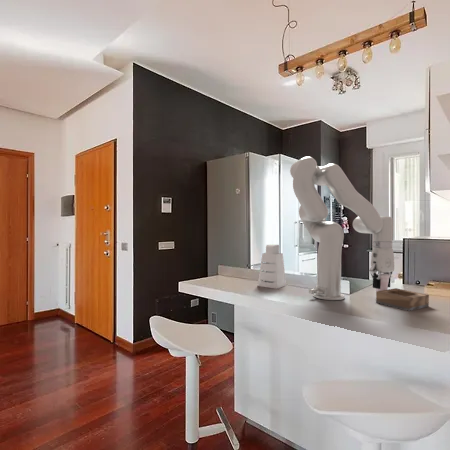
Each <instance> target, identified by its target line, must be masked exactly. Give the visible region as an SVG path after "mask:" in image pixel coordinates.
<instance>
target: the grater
mask: <svg viewBox="0 0 450 450" xmlns="http://www.w3.org/2000/svg"><path fill="white" fill-rule="evenodd" d="M284 262H285V261H284V255H283V253H281V252H280V245H279V244H266V245H265V252H264V253H262V254H261V259H260V266H259V272H258V273H259V275H258V280H257V286H258V287H263V288H270V289H280V288H283V287H286V286H287V281H286V272H285V263H284Z"/></svg>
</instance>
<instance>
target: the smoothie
mask: <svg viewBox="0 0 450 450" xmlns="http://www.w3.org/2000/svg"><path fill="white" fill-rule="evenodd" d="M376 274H377V275H378V273H376ZM389 277H390V275H389V274H385V273H381V275H380V278H379V279H381V281H380V289H377V288H375V292H376V291H382V290H388V288H389V287H388V282H389Z"/></svg>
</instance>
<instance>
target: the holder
mask: <svg viewBox="0 0 450 450" xmlns="http://www.w3.org/2000/svg"><path fill="white" fill-rule="evenodd" d="M375 296H376V297H375V298H376V299H375V303H376V304H379V303H380V305H383V304H384V306H387V305H388V306H387V307H391V306H392V308H395V307H396V308H395V309H399V308H400V310H403V309H404V311H407V310H408V311H407V312H410V310H411V311H414V310H415V309H416V310H419V309H425V308H428V307H430V306H429V305H430V303H429V302H430V295H429V294H427V293H422V292H417V291H411V290H406V289H400V288H390V289H388V288H387V290H382V291H376V290H375ZM416 310H415V311H416Z"/></svg>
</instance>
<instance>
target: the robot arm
mask: <svg viewBox="0 0 450 450" xmlns="http://www.w3.org/2000/svg"><path fill="white" fill-rule="evenodd" d="M289 173H290V175H291V178H292V187H293V188H292V190H293V193H294V195H295V197H296V198H297V200H298V202H299V204H300V206H299V208H298V216H299V218H300V220H301V222H302V224H303V225H304V227H305V228H306V230H307V232H308V233H309V235H310V237H311V238H312V239H313V240H314V241H315V242H316V243H318V248H317V258H316V259H317V262H316V263H317V264H316V265H317V267H316V269H317V270H316V272H317V273H316V274H317V275H316V285H315V288H310V289H309V290H308V293H309V294H310V295H312V296H313V297H314V298H317V299H319V300H326V301H342V300H344V299H345V294H344V293H341V292H342V291H341V289H342V286H341V285H342V283H341V282H342V252H343V251H342V250H343V248H342V247H343V244H344V239H345V233H344V229H343V227H342V226H341V225H340V224H339V223H338V222H335V221H327V218H328V215H329V210H328V207H327V205H326V204H325V202H324V200H323V198H322V197H321V195H320V193H319V192H318V190H317V188H316V186H321V187H327V188H328V190H329V191H330V193H331V195H333V197H334V198H335V200H336V202H337V203H338V204H340V205H341V206H343V207H345V208H346V209H349V210H351V211H352V212H353V213H355V215H356V216H357V217H355V218H354V219H353V221H352V227H353V229H354V230H355V231H356V232H358V233H359V234H371V235H372V249H371V250H372V251H371V259H370V268H369V270H368V272H369V273H370V276H371V278H372V288H373V289H376V288H377V289H380V281H381V279H379V278H380V275H381V273H385V274H389V275H390V277H389V282H388V288H391V278H392V274H393V272H394V271H395V254H394V249H393V235H394V234H393V226H394V219H393V217H392V216H389V215H388V216H387V215H384V216H383V215H380V214H379V212H378V210H377V209H376V208H375V206H374V205H373V204H372V202H370V201H369V200H368V199H366V198H365V197H364V196H363V195H362V194H360V193H359V192H358V191H357V190H356V188H355V186H354V185H353V184H352V183H351V181H350V180H349V178H348V177H347V175H346V174H345V172H344V170H343V169H342V167H340V166H339V164H336V163H328V164H326V165H323V166H322V165H320V166H319V165H318V162H317V160H316V159H315V158H313V157H312V156H304V157H302V158H300V159H299V160H297V161H295V162H293V163H292V164H291V167H290V170H289ZM376 273H378V275H377V274H376Z"/></svg>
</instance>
